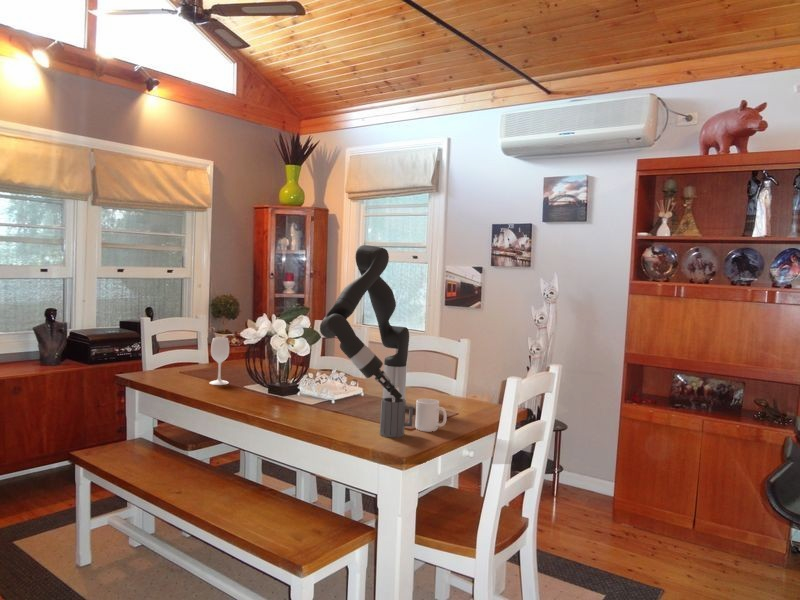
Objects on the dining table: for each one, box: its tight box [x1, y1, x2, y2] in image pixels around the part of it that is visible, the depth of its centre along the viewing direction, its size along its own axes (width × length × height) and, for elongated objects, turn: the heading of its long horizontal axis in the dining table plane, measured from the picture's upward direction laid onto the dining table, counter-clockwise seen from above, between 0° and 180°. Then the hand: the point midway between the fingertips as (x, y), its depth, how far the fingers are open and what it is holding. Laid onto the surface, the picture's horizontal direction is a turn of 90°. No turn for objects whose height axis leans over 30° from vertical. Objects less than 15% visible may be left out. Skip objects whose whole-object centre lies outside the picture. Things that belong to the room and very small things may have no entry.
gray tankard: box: [379, 397, 414, 439], centre depth 203 cm, size 8×11×12 cm
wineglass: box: [209, 336, 230, 386], centre depth 271 cm, size 9×9×21 cm
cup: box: [414, 398, 448, 433], centre depth 211 cm, size 8×12×10 cm
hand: (398, 395), depth 202 cm, fingers open, 6 cm apart
